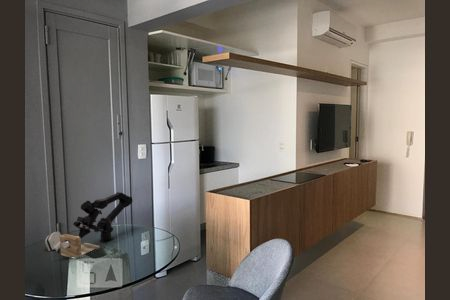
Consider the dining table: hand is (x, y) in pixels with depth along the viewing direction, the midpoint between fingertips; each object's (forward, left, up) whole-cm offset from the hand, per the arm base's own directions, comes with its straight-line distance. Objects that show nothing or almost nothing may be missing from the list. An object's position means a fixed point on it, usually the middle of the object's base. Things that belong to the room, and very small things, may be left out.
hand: (78, 239), depth 212 cm
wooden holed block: (+6, 0, -3) cm, 6 cm away
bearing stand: (-1, 0, -9) cm, 9 cm away
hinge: (0, -24, -9) cm, 25 cm away
